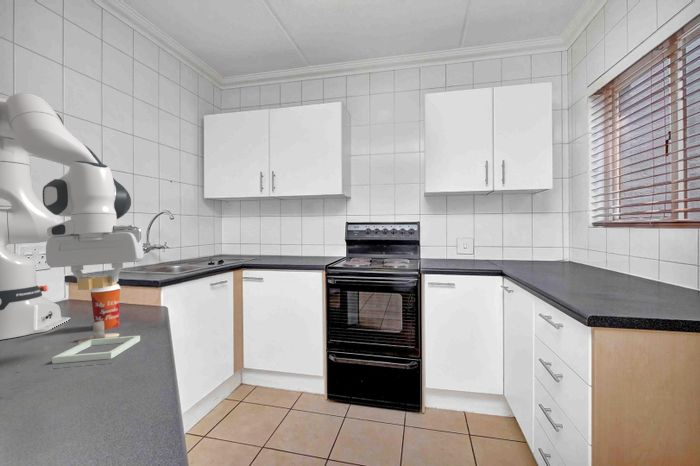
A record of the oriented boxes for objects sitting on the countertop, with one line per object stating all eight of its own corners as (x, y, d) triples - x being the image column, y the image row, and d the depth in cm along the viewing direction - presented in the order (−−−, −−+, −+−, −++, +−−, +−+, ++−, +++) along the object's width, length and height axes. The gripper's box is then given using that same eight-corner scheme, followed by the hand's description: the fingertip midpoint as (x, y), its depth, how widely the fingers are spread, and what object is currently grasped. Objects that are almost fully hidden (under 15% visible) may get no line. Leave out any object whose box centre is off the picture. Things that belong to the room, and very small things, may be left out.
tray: (90, 349, 82) (90, 339, 82) (140, 344, 83) (140, 335, 83) (52, 368, 70) (51, 357, 70) (111, 363, 71) (111, 352, 71)
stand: (92, 338, 91) (91, 319, 91) (126, 336, 92) (125, 316, 92) (68, 350, 82) (67, 328, 82) (106, 347, 83) (105, 325, 83)
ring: (93, 286, 80) (93, 277, 80) (116, 284, 81) (116, 275, 81) (73, 290, 74) (73, 280, 74) (99, 288, 74) (98, 278, 74)
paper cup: (96, 336, 93) (93, 288, 92) (88, 332, 97) (85, 286, 97) (127, 329, 99) (124, 284, 99) (118, 325, 103) (116, 282, 103)
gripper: (146, 225, 83) (149, 278, 83) (60, 230, 80) (63, 284, 80) (133, 223, 77) (136, 281, 76) (38, 229, 74) (42, 288, 74)
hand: (98, 283), depth 78 cm, fingers closed on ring, 5 cm apart
